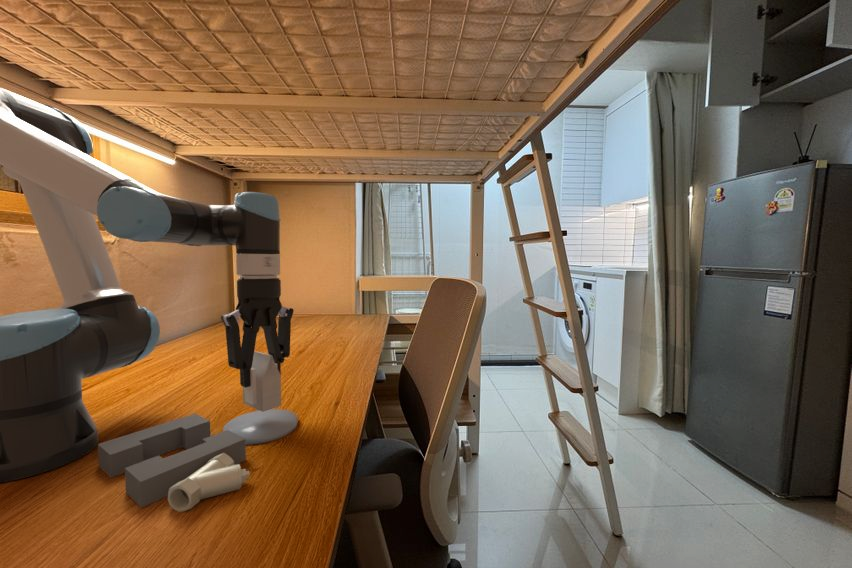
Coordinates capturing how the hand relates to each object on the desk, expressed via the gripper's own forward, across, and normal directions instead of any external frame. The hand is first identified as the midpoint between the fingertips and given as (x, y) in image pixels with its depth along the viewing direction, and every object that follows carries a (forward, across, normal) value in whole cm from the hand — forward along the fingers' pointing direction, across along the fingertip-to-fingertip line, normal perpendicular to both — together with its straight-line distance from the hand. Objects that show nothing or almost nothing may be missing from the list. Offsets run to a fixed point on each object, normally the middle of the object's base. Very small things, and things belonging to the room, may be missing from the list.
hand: (261, 398), depth 70 cm
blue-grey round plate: (+6, 0, 0) cm, 6 cm away
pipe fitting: (+6, -15, -13) cm, 21 cm away
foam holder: (+6, -15, 0) cm, 16 cm away
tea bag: (+1, 0, 0) cm, 1 cm away
